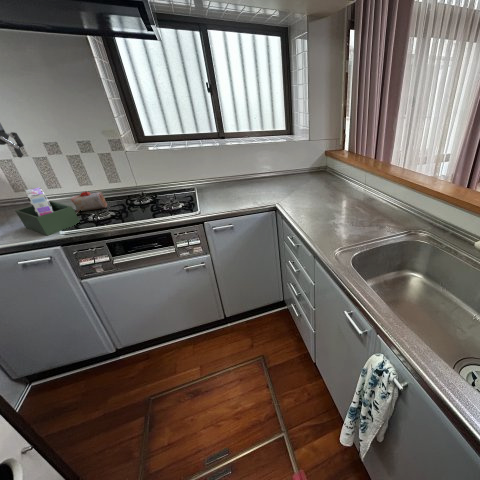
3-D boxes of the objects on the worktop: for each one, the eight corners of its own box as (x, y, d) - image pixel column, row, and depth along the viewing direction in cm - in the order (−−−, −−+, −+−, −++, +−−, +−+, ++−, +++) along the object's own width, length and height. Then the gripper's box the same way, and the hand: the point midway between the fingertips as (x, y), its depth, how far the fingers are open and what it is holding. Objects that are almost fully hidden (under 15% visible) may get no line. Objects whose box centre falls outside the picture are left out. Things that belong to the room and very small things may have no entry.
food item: (75, 213, 142) (66, 196, 137) (79, 208, 148) (71, 191, 143) (106, 209, 147) (98, 192, 142) (108, 204, 153) (101, 187, 148)
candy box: (62, 225, 127) (44, 193, 119) (46, 230, 123) (25, 196, 115) (58, 217, 135) (40, 186, 127) (42, 221, 131) (23, 189, 123)
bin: (25, 227, 128) (14, 210, 124) (59, 216, 139) (50, 200, 134) (47, 235, 121) (36, 217, 116) (80, 223, 131) (72, 206, 127)
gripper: (4, 117, 116) (24, 155, 124) (-45, 120, 105) (-20, 161, 113) (12, 118, 113) (32, 157, 122) (-38, 121, 102) (-12, 164, 110)
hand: (7, 159), depth 117 cm, fingers open, 8 cm apart
